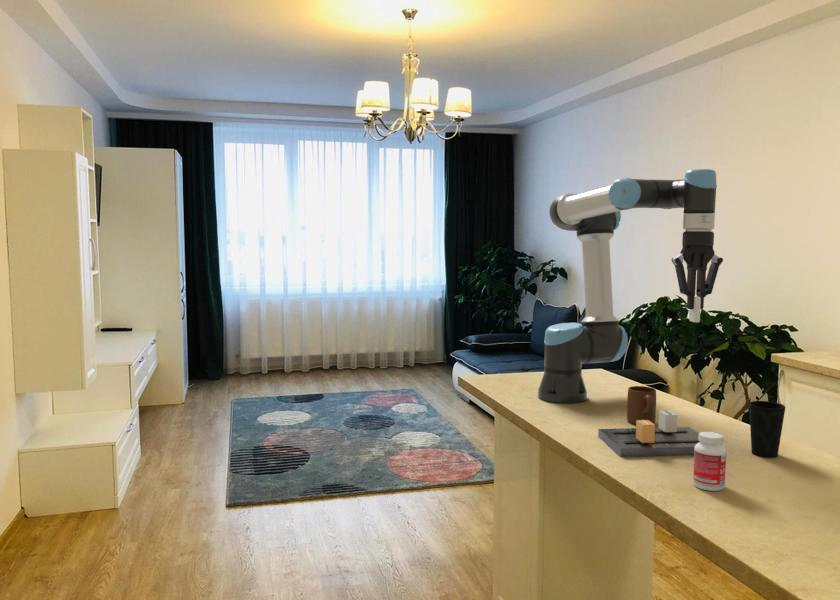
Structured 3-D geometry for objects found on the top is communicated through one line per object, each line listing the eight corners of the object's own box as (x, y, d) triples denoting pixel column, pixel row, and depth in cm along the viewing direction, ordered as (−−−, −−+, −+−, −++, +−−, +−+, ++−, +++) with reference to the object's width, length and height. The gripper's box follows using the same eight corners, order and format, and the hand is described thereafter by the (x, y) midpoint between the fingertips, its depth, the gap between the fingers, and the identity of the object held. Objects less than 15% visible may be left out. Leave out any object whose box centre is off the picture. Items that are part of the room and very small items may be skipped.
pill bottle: (725, 493, 140) (727, 440, 138) (692, 489, 142) (695, 437, 141) (724, 483, 145) (726, 432, 144) (692, 479, 148) (694, 429, 146)
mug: (664, 430, 183) (666, 396, 182) (636, 430, 183) (637, 396, 182) (650, 418, 195) (651, 385, 194) (623, 418, 195) (624, 385, 194)
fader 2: (658, 427, 177) (659, 410, 176) (669, 427, 177) (670, 410, 176) (665, 432, 173) (665, 414, 172) (676, 432, 173) (677, 414, 172)
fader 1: (635, 437, 168) (636, 419, 168) (647, 437, 168) (648, 419, 168) (642, 442, 164) (642, 424, 164) (654, 442, 164) (655, 424, 164)
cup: (739, 451, 166) (741, 402, 165) (762, 447, 169) (764, 399, 168) (766, 461, 159) (769, 410, 158) (790, 456, 162) (793, 407, 161)
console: (598, 436, 178) (598, 427, 178) (688, 434, 180) (688, 426, 179) (620, 456, 162) (620, 447, 162) (719, 454, 164) (719, 445, 163)
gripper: (680, 230, 173) (676, 323, 175) (730, 230, 174) (726, 323, 176) (667, 230, 180) (664, 319, 183) (715, 230, 181) (711, 319, 184)
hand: (694, 321), depth 179 cm, fingers closed
